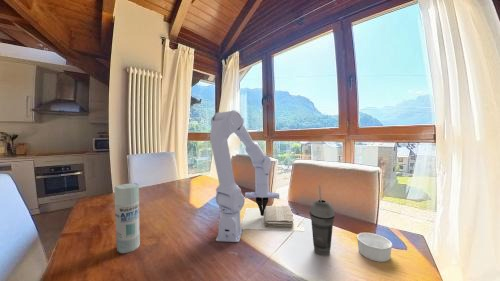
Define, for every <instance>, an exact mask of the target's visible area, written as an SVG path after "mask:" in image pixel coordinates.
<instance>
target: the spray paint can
mask: <svg viewBox="0 0 500 281" xmlns="http://www.w3.org/2000/svg"><path fill="white" fill-rule="evenodd" d="M113 189H114V190H113V191H114V213H115V215H114V216H115V234H116V235H115V236H116V238H115V239H116V251H117V253H119V254H128V253H130V252H133V251H135V250H137V249H138V248H139V247H140V243H141V236H140V235H141V234H140V190H139V189H140V186H139V184H138V183H135V182H133V183H124V184H119V185H116V186H115V187H114V188H113Z"/></svg>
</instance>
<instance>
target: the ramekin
mask: <svg viewBox="0 0 500 281" xmlns="http://www.w3.org/2000/svg"><path fill="white" fill-rule="evenodd" d="M356 240H357V247H358V252H359V253H360V254H361V255H362V256H363V257H364V258H366V259H368V260H371V261H373V262H379V263H380V262H381V263H383V262H388V261H390V259H391V258H392V257H391V256H392V255H391V254H392V248H393V243H392V241H391V240H389V239H388V238H386V237H385V236H382V235H379V234H377V233H372V232H360V233H358V234H357V235H356Z"/></svg>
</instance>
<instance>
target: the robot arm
mask: <svg viewBox="0 0 500 281" xmlns="http://www.w3.org/2000/svg"><path fill="white" fill-rule="evenodd" d="M244 123H245V119H244V118H243V117H242V114H241V113H240V112H239V111H238V110H236V109H235V110H229V111H228V110H227V111H223V112H222V111H219V112H218V111H217V112H216V113H214V114H213V116H212V117H211V119H210V125H211V129H210V133H209V139H210V144H211V145H210V146H211V149H212V154H213V155H212V156H213V159H214V163H215V169H216V174H217V178H218V186H217V187H216V188H215V192H216V194H215V195H216V196H215V203H216V204H217V205H218V208H219V214H220V215H219V216H220V218H219V221H218V226H217V227H218V234H217V236H216V238H215V241H216V242H225V243H226V242H232V243H239V242H240V240H241V237H242V232H243V230H244V229H243V228H242V227H241V211H242V209H243V207H244V205H245V200H246V199H255V203H256V205H257V206H258V207H257V208H259V209H260V213H261V216H264V210H265V207H266V206H268V203H269V199H277V200H280V193H279V192H270V186H269V184H270V182H269V180H270V177H269V174H270V172H271V167H272V163H273V162H272V161H271V158H270V157H269V156H268V155H266V153H265V152H264V151H263V149H262V147H261V146H260V144H259V143H258V142H257V141H253V139H252V137H251V135H250V133H249V131H248V130H247V128H246V126H245V124H244ZM232 134H235V135H236V136H237V137H238V139H239V140H240V141H241V142H242V143H243V145H244V146H245V149H244V151H245V152H246V153H247V156H249V158H250V159H251V160H250V161H251V164H252V167H253V168H254V172H255V173H254V176H255V179H254V180H255V183H254V184H255V186H254V187H255V191H251V192H245V193H244V194H243V193H242V189H241V187H239V185H238V184H237V183H236V180H235V175H234V170H233V169H234V168H233V164H232V159H231V154H230V148H229V144H228V143H229V142H228V139H229V138H230V136H231V135H232Z"/></svg>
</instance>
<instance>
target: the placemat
mask: <svg viewBox="0 0 500 281" xmlns="http://www.w3.org/2000/svg"><path fill="white" fill-rule="evenodd" d="M264 218H265V210H264V216H261V213H260V209H259V207H246V209H245V212H244V215H243V219H242V222H241V224H240V227H242V228H243V230H259V231H261V230H264V231H265V230H266V231H286V232H287V231H289V232H305V228H304V226H303V227H302V228H301V226H299V227H297V226H298V225H297V224H296V225H297V226H296V225H295V223H294V222H295V221H294V222H293V224H294V226H293V227H265V225H264V223H265V222H264ZM300 228H301V229H300Z"/></svg>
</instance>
